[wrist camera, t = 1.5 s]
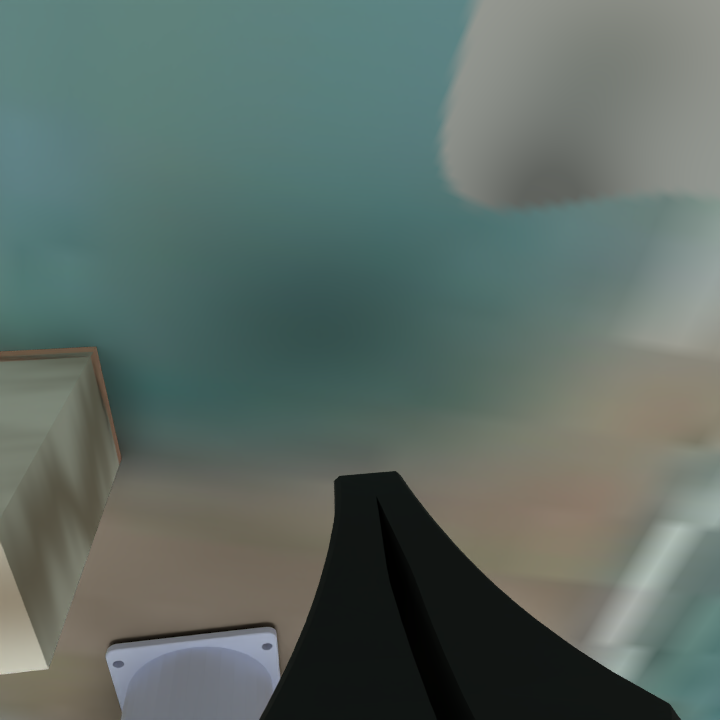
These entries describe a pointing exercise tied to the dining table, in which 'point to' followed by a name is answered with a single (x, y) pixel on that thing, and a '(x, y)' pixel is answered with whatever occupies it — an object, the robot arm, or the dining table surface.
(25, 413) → the block
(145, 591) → the dining table surface
